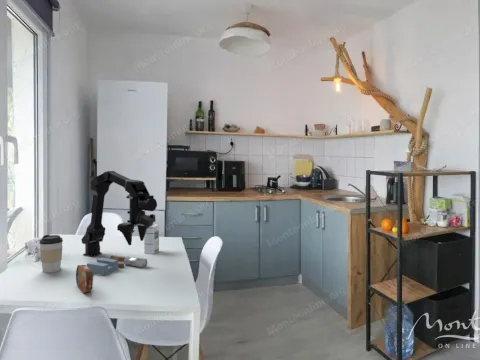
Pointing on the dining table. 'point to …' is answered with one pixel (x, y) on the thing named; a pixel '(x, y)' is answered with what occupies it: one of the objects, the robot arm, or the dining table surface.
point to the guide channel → (119, 258)
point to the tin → (84, 278)
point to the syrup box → (151, 239)
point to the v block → (103, 266)
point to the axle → (135, 262)
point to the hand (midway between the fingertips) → (135, 242)
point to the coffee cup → (51, 253)
